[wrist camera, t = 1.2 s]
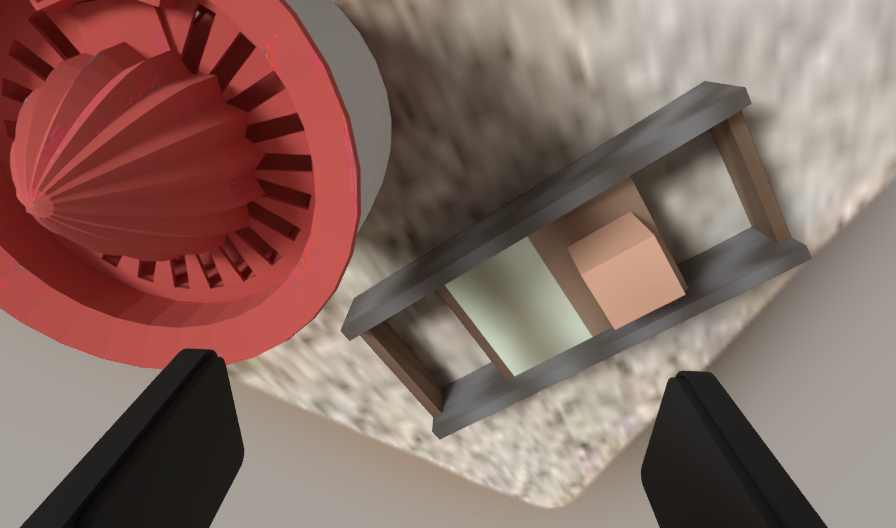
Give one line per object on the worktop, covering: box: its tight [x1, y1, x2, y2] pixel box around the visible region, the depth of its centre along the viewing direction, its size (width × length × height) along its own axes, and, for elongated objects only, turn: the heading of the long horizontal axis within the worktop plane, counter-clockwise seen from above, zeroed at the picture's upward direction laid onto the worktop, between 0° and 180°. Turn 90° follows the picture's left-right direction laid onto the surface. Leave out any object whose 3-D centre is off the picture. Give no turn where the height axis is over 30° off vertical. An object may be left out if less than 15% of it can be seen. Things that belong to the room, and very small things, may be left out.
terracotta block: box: [567, 212, 686, 330], centre depth 29 cm, size 4×4×4 cm
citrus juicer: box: [0, 0, 391, 369], centre depth 21 cm, size 16×17×20 cm
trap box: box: [341, 81, 812, 439], centre depth 32 cm, size 28×12×4 cm, turn 124°
